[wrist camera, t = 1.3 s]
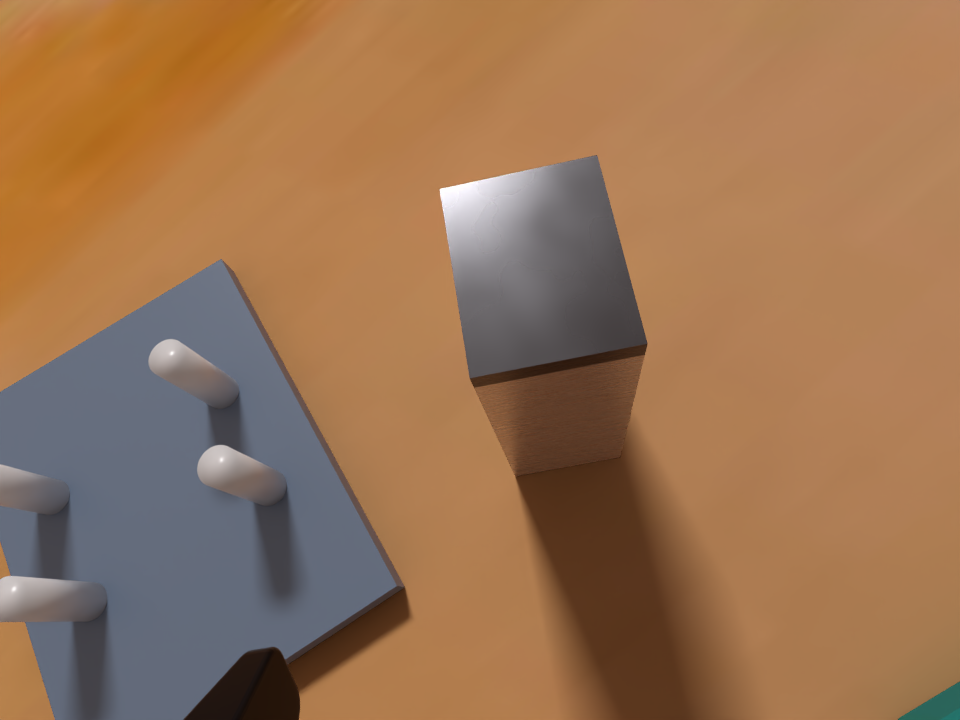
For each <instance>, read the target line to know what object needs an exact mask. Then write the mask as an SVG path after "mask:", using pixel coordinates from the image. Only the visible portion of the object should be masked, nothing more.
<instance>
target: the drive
mask: <svg viewBox="0 0 960 720" xmlns="http://www.w3.org/2000/svg"><path fill="white" fill-rule="evenodd" d="M440 194H441V200H442V207H443V213H444V219H445V225H446V232H447V238H448V244H449V251H450V257H451V263H452V269H453V276H454V282H455V288H456V295H457V301H458V307H459V313H460V320H461V326H462V332H463V339H464V345H465V351H466V357H467V364H468V370H469V376H470V380H471V382H472V384H473V386H474V388H475V391H476V393H477V395H478V397H479V399H480V401H481V403H482V406H483V408H484V410H485V412H486V414H487V416H488V419H489V421H490V423H491V425H492V427H493V429H494V432H495V434H496V436H497V438H498V440H499V442H500V445H501V447H502V449H503V451H504V453H505V455H506V457H507V460H508V462H509V464H510V466H511V468H512V470H513V473H514V475H515V476H520V475H526V474H531V473H537V472H542V471H548V470H553V469H559V468H564V467H569V466H575V465H580V464H586V463H591V462H597V461H602V460H608V459H613V458H619V457H620V456H621V452H622V448H623V444H624V439H625V435H626V431H627V427H628V423H629V419H630V414H631V410H632V406H633V402H634V398H635V394H636V389H637V385H638V381H639V377H640V373H641V369H642V364H643V360H644V356H645V352H646V348H647V340H646V336H645V333H644V329H643V325H642V321H641V318H640V314H639V310H638V306H637V303H636V299H635V295H634V291H633V288H632V284H631V280H630V276H629V273H628V269H627V265H626V262H625V258H624V254H623V250H622V247H621V243H620V239H619V235H618V232H617V228H616V224H615V220H614V217H613V213H612V209H611V205H610V202H609V198H608V194H607V190H606V187H605V183H604V179H603V176H602V172H601V168H600V164H599V161H598V157H597V155H596V156H591V157H586V158H582V159H577V160H572V161H568V162H563V163H558V164H554V165H549V166H545V167H540V168H535V169H531V170H526V171H521V172H517V173H512V174H507V175H503V176H498V177H494V178H489V179H484V180H480V181H475V182H470V183H466V184H461V185H456V186H452V187H447V188H442V189H440Z"/></svg>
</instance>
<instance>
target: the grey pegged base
mask: <svg viewBox="0 0 960 720" xmlns="http://www.w3.org/2000/svg"><path fill="white" fill-rule="evenodd" d="M0 542H1V545H2V548H3V552H4V555H5V558H6V561H7V565H8V568H9V571H10V574H11V576H7V577H4V578H1V579H0V622H25V623H26V626H27V630H28V633H29V636H30V639H31V643H32V646H33V649H34V652H35V656H36V659H37V662H38V666H39V669H40V672H41V675H42V679H43V682H44V685H45V688H46V692H47V695H48V698H49V701H50V705H51V708H52V711H53V714H54V718H55V720H183V719H184V718H185V717H186V716H187V715H188V714H189V713H190V712H191V710H192V709H193V708H194V707H195V706H196V705H197V704H198V703H199V702H200V701H201V700H202V698H203V697H204V696H205V695H206V694H207V693H208V692H209V691H210V690H211V689H212V688H213V686H214V685H215V684H216V683H217V682H218V681H219V680H220V679H221V678H222V677H223V676H224V674H225V673H226V672H227V671H228V670H229V669H230V668H231V667H232V666H233V665H234V664H235V662H236V661H237V660H238V659H239V658H240V657H241V656H242V655H243V654H244V653H246V652H247V651H250V650H255V649H261V648H267V647H277V648H278V649H279V650H280V651H281V652H282V654H283V656H284V658H285V661H286V663H287V665H288V664H289V663H291V662H292V661H294V660H295V659H297V658H298V657H300V656H301V655H303V654H304V653H306V652H307V651H309V650H310V649H312V648H314V647H315V646H317V645H318V644H320V643H321V642H323V641H324V640H326V639H327V638H329V637H330V636H332V635H333V634H335V633H336V632H338V631H339V630H341V629H342V628H344V627H345V626H347V625H348V624H350V623H351V622H353V621H354V620H356V619H357V618H359V617H360V616H362V615H364V614H365V613H367V612H368V611H370V610H371V609H373V608H374V607H376V606H377V605H379V604H380V603H382V602H383V601H385V600H386V599H388V598H389V597H391V596H392V595H394V594H395V593H397V592H398V591H400V590H401V589H403V588H404V585H403V583H402V581H401V579H400V577H399V576H398V574H397V572H396V570H395V568H394V566H393V564H392V563H391V561H390V559H389V557H388V555H387V553H386V552H385V550H384V548H383V546H382V544H381V542H380V540H379V539H378V537H377V535H376V533H375V531H374V529H373V528H372V526H371V524H370V522H369V520H368V518H367V516H366V515H365V513H364V511H363V509H362V507H361V505H360V504H359V502H358V500H357V498H356V496H355V494H354V493H353V491H352V489H351V487H350V485H349V483H348V481H347V480H346V478H345V476H344V474H343V472H342V470H341V469H340V467H339V465H338V463H337V461H336V459H335V457H334V456H333V454H332V452H331V450H330V448H329V446H328V445H327V443H326V441H325V439H324V437H323V435H322V434H321V432H320V430H319V428H318V426H317V424H316V422H315V421H314V419H313V417H312V415H311V413H310V411H309V410H308V408H307V406H306V404H305V402H304V400H303V398H302V397H301V395H300V393H299V391H298V389H297V387H296V386H295V384H294V382H293V380H292V378H291V376H290V375H289V373H288V371H287V369H286V367H285V365H284V363H283V362H282V360H281V358H280V356H279V354H278V352H277V351H276V349H275V347H274V345H273V343H272V341H271V339H270V338H269V336H268V334H267V332H266V330H265V328H264V327H263V325H262V323H261V321H260V319H259V317H258V316H257V314H256V312H255V310H254V308H253V306H252V304H251V303H250V301H249V299H248V297H247V295H246V293H245V292H244V290H243V288H242V286H241V284H240V282H239V280H238V279H237V277H236V275H235V273H234V271H233V270H232V269H231V268H230V267H229V266H228V265H227V264H226V263H225V262H224V261H223V260H222V259H220V260H219V261H217V262H215V263H214V264H212V265H210V266H209V267H207V268H205V269H204V270H202V271H200V272H199V273H197V274H196V275H194V276H192V277H191V278H189V279H187V280H186V281H184V282H182V283H181V284H179V285H177V286H176V287H174V288H172V289H171V290H169V291H167V292H166V293H164V294H162V295H161V296H159V297H157V298H156V299H154V300H152V301H151V302H149V303H147V304H146V305H144V306H142V307H141V308H139V309H137V310H136V311H134V312H132V313H131V314H129V315H127V316H126V317H124V318H122V319H121V320H119V321H117V322H116V323H114V324H112V325H111V326H109V327H107V328H106V329H104V330H102V331H101V332H99V333H97V334H96V335H94V336H92V337H91V338H89V339H87V340H86V341H84V342H83V343H81V344H79V345H78V346H76V347H74V348H73V349H71V350H69V351H68V352H66V353H64V354H63V355H61V356H59V357H58V358H56V359H54V360H53V361H51V362H49V363H48V364H46V365H44V366H43V367H41V368H39V369H38V370H36V371H34V372H33V373H31V374H29V375H28V376H26V377H24V378H23V379H21V380H19V381H18V382H16V383H14V384H13V385H11V386H9V387H8V388H6V389H4V390H3V391H1V392H0Z"/></svg>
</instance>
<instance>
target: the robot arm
mask: <svg viewBox="0 0 960 720" xmlns="http://www.w3.org/2000/svg"><path fill="white" fill-rule="evenodd" d="M299 713H300V697H299V691H298V688H297V686H296V683H295V681H294V679H293V677H292V674H291V672H290V670H289V667H288V665H287V663H286V661H285V658H284V656H283V654H282V652H281V651H280V650H279V649H278V648H277V647H267V648H261V649H255V650H250V651H247V652H246V653H244V654H243V655H242V656H241V657H240V658H239V659H238V660H237V661H236V662H235V664H234V665H233V666H232V667H231V668H230V669H229V670H228V671H227V672H226V673H225V674H224V676H223V677H222V678H221V679H220V680H219V681H218V682H217V683H216V684H215V685H214V686H213V688H212V689H211V690H210V691H209V692H208V693H207V694H206V695H205V696H204V697H203V698H202V700H201V701H200V702H199V703H198V704H197V705H196V706H195V707H194V708H193V709H192V710H191V712H190V713H189V714H188V715H187V716H186V717H185V718H184V719H183V720H299Z"/></svg>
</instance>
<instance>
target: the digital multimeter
mask: <svg viewBox="0 0 960 720" xmlns="http://www.w3.org/2000/svg"><path fill="white" fill-rule="evenodd" d="M898 720H960V682H958V683H956V684H955V685H953V686H951V687H950V688H948V689H946V690H945V691H943V692H942V693H940V694H938V695H937V696H935V697H933V698H932V699H930V700H928V701H927V702H925V703H923V704H922V705H920V706H918V707H917V708H915V709H913V710H912V711H910V712H909V713H907V714H905V715H904V716H902V717H900V718H899V719H898Z"/></svg>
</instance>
